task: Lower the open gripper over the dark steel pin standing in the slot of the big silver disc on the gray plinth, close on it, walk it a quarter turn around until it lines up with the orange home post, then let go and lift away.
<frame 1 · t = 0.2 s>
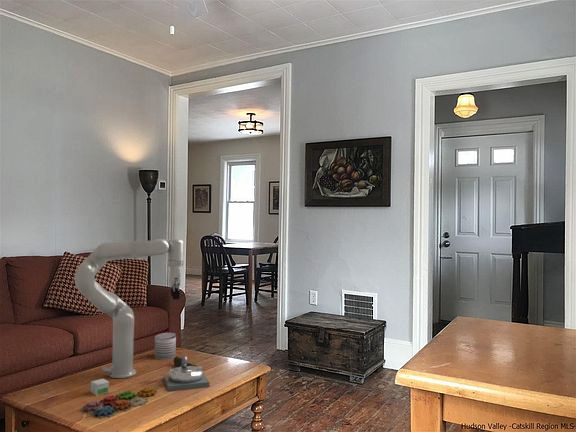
hand: (175, 297, 234), 36 cm above the table, tool pointing down, fingers open, 9 cm apart
gear puzzle: (125, 404, 190), on the table
small box: (99, 393, 201), on the table
silver disc: (186, 368, 216), point 6 cm above the table, hinge at 0.0°
can: (165, 356, 257), on the table
gray plinth: (185, 382, 216), on the table
hand tool: (182, 369, 236), on the table
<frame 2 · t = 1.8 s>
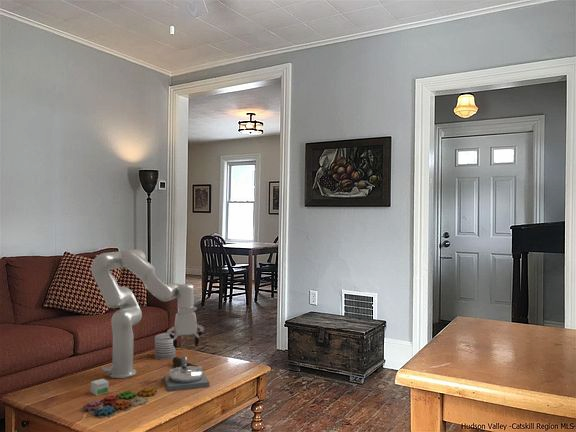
hand: (185, 346, 221), 15 cm above the table, tool pointing down, fingers open, 9 cm apart
nothing on the table moved.
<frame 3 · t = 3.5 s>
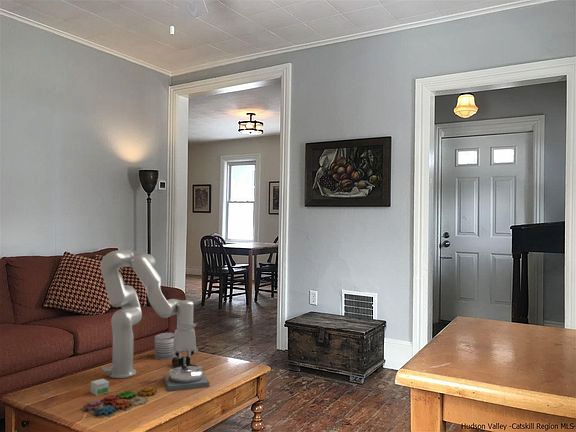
hand: (184, 365, 221), 6 cm above the table, tool pointing down, fingers closed on silver disc, 2 cm apart
silver disc: (186, 368, 216), point 6 cm above the table, hinge at 0.1°, touching gripper
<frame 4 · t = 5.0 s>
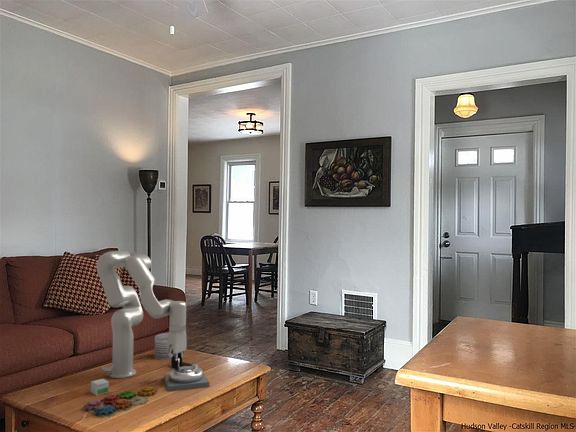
hand: (176, 367, 218), 6 cm above the table, tool pointing down, fingers closed on silver disc, 2 cm apart
silver disc: (186, 368, 216), point 6 cm above the table, hinge at 42.0°, touching gripper
everything else where it was.
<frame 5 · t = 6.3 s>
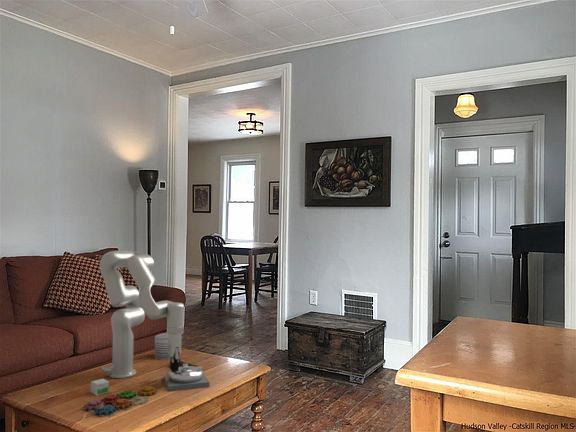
hand: (174, 369, 214), 6 cm above the table, tool pointing down, fingers closed on silver disc, 2 cm apart
silver disc: (186, 368, 216), point 6 cm above the table, hinge at 84.1°, touching gripper
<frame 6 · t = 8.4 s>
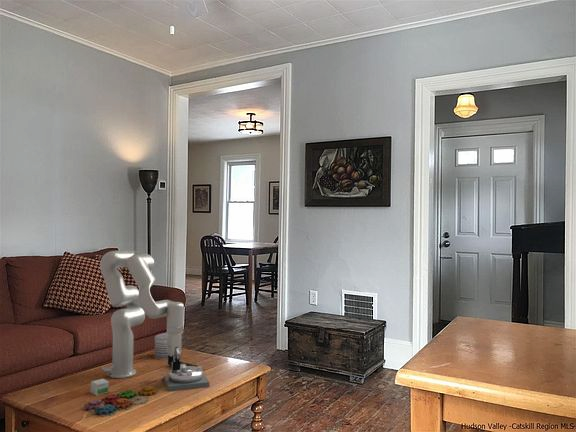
hand: (173, 366, 214), 8 cm above the table, tool pointing down, fingers open, 9 cm apart
silver disc: (186, 368, 216), point 6 cm above the table, hinge at 93.6°
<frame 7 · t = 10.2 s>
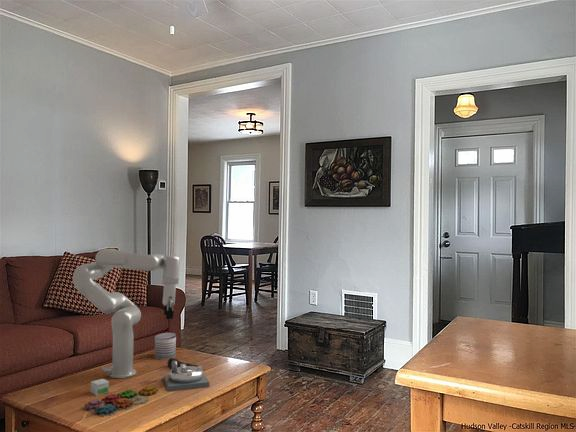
hand: (168, 316, 224), 29 cm above the table, tool pointing down, fingers open, 9 cm apart
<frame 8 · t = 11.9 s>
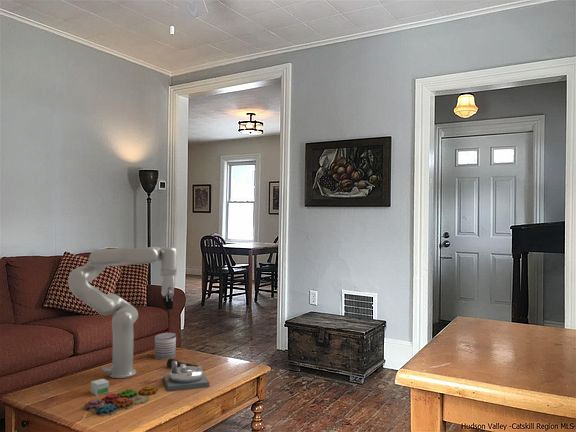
hand: (167, 307, 228), 32 cm above the table, tool pointing down, fingers open, 9 cm apart
at the end: silver disc at +94° (first picture: +0°); the gripper is holding nothing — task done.
